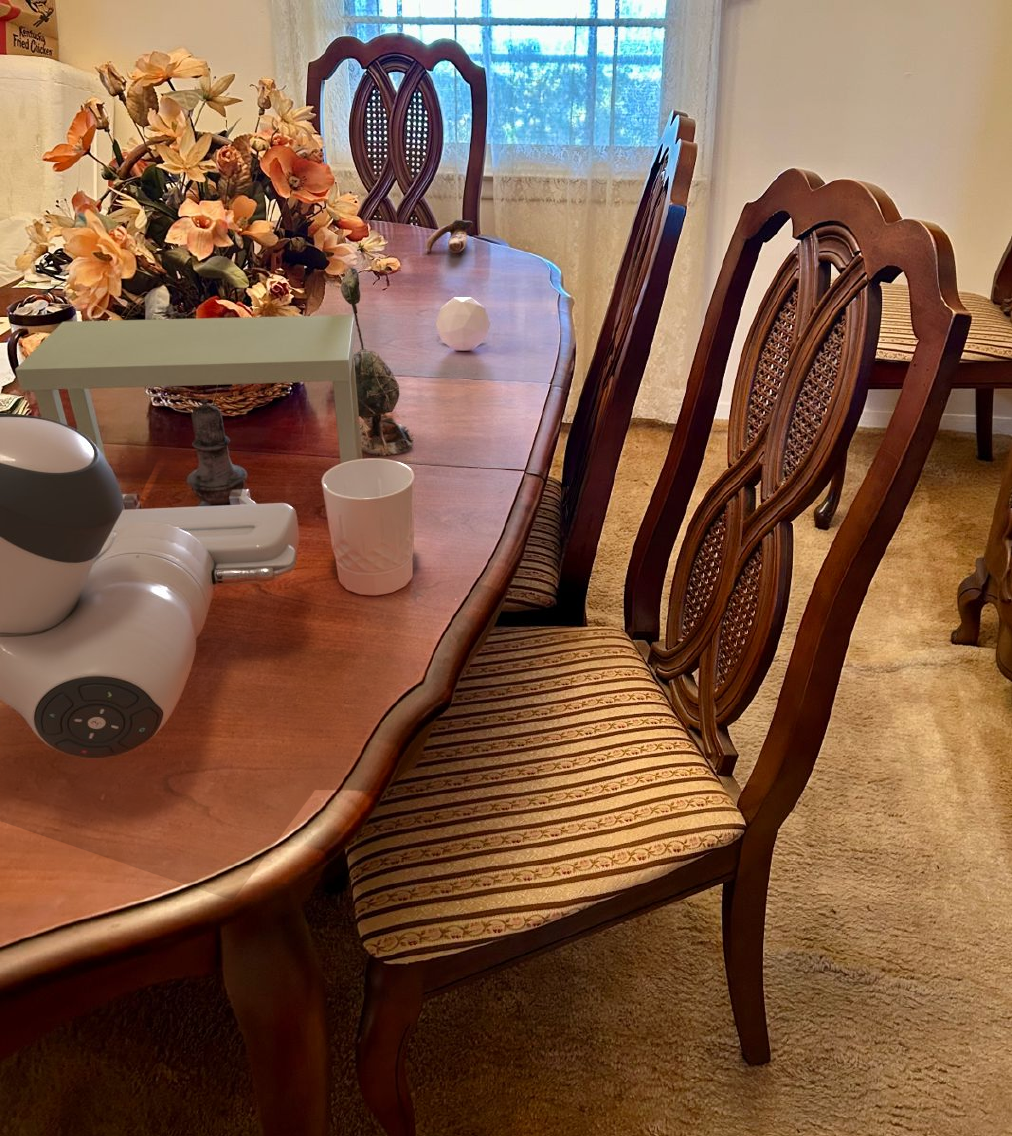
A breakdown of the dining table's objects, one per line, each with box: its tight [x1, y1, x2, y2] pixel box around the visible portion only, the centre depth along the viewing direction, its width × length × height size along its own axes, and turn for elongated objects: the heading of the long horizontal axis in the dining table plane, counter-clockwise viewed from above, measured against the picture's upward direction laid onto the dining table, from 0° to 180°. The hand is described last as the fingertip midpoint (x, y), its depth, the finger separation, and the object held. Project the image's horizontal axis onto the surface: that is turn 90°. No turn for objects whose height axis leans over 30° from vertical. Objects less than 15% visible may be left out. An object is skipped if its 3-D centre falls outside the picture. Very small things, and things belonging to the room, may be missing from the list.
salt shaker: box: [186, 396, 248, 507], centre depth 93 cm, size 6×6×12 cm
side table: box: [14, 314, 363, 464], centre depth 93 cm, size 29×14×17 cm, turn 96°
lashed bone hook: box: [426, 219, 474, 254], centre depth 193 cm, size 9×5×18 cm
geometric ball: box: [435, 296, 491, 352], centre depth 137 cm, size 8×8×8 cm
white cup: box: [321, 457, 415, 596], centre depth 82 cm, size 8×8×10 cm
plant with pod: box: [340, 267, 414, 457], centre depth 104 cm, size 8×11×20 cm
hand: (187, 498), depth 82 cm, fingers open, 8 cm apart
